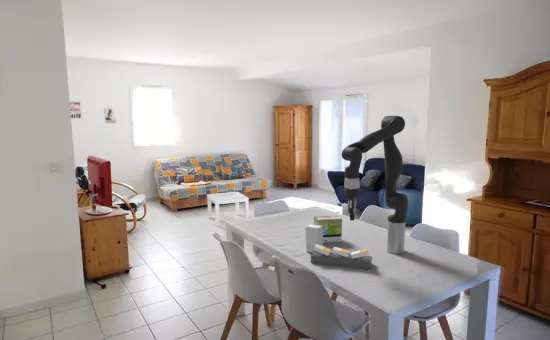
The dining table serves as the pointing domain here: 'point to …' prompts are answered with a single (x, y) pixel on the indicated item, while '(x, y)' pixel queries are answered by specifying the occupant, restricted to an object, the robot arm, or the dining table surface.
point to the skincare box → (313, 237)
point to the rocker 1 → (322, 249)
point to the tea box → (330, 227)
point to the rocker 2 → (340, 251)
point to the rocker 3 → (359, 253)
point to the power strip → (341, 260)
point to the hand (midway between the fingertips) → (352, 220)
